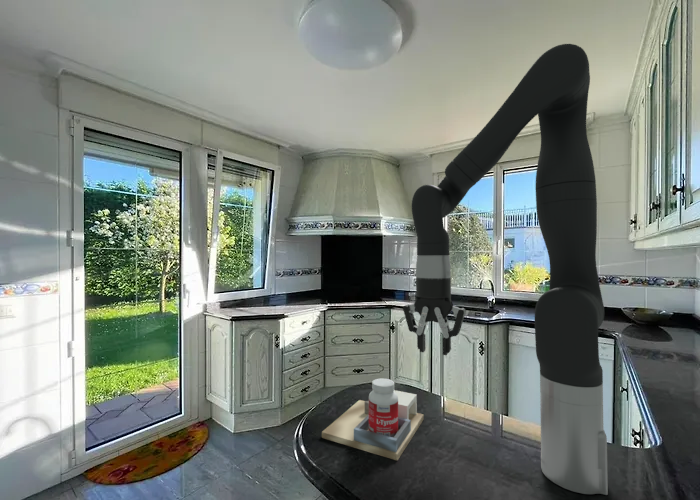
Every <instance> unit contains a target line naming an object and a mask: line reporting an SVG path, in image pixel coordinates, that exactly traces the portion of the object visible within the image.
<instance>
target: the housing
mask: <svg viewBox="0 0 700 500" xmlns="http://www.w3.org/2000/svg"><path fill="white" fill-rule="evenodd" d="M394 392H395V393H396V394H397V396H398V417H400V418H404V419H408V420H409V414H413V415H416V414H417V413H418V407H417V406H418V405H417V403H418V399H417V398H418V396H417V395H418V394H416V393H411V392H406V391H402V390H401V391H400V390H394Z"/></svg>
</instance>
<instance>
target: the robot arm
mask: <svg viewBox="0 0 700 500" xmlns="http://www.w3.org/2000/svg"><path fill="white" fill-rule="evenodd" d="M588 57H589V56H588V55H587V53H586V52H585V50H584V48H582V47H581V46H579V45H577V44H574V43H562V44H558V45H556V46H553V47H551V48H549V49H548V50H546V51H545V52H543V53H542V54H541V55H540V56H539V57H538V58H537V59H536V60H535V61H534V62H533V64H532V65H531V66H530V67H529V69H528V70H527V71H526V73H525V74H524V76H523V77H522V78H521V80H520V82H518V84H517V85H516V87H515V88H514V90H512V92H511V94H510V95H509V96H508V97H507V98H506V100H505V101H504V102H503V104H502V105H501V106H500V107H499V109H498V110H497V111H496V113H495V114H494V115H493V116H492V117H491V118H490V119H489V121H488V122H487V123H486V125H485V126H484V127H483V128H482V129H480V131H479V132H478V133H477V135H475V136H474V137H473V139H472V140H471V141H470V142H469V143H468V144H467V145H466V146H465V147H464V148H463V149H461V151H460V152H458V154H457V155H456V156H455V157H454V158H452V160H451V161H450V162H449V164H448V165H447V166H446V167H445V168H444V169H445V170H444V175H445V176H444V177H443V179H442V180H441V181H440V183H439V184H438V185H437V186H436V185H433V184H424V185H421V186H420V187H418V188H417V189H416V190H415V192H414V193H413V195H412V200H411V214H412V219H413V220H412V221H413V224H414V229H415V233H416V237H417V240H416V264H415V285H416V287H415V288H416V289H415V291H416V292H415V293H416V294H415V297H416V298H415V300H414V303H411V304H405V305H404V306H403V307H402V309H403V314H404V318H405V321H406V325H407V328H408V330H409V332H412V333H414V334H416V340H417V341H416V343H417V345H416V346H417V350H419V353H424V352H426V346H427V345H426V333H425V332H426V327H427V324H428V323H430V322H434V323H438V325H439V328H440V330H441V332H442V336H443V337H442V356H447V355H448V354H449V353H450V352H451V350H452V341H451V340H452V337H457V336H458V335H459V333H460V332H461V328H462V325H463V321H464V319H465V315H466V313H467V310H466V308H464V307H461V308H460V307H458V306H454V304H453V302H452V288H451V287H452V280H451V279H452V270H451V269H452V267H451V260H450V236H449V232H448V231H447V230H446V229H445V226H444V220H443V219H444V218H446V217H447V216H448V215H450V214H451V213H452V212H453V211H454V210H455V209H456V208H457V206H459V204H460V203H461V202H462V200H463V199H464V197H466V196H467V194H468V192H469V191H470V189H472V188H473V187H474V186H475V185H476V184H477V183H479V182H480V180H482V178H484V177H485V175H487V174H488V173H489V172H490V171H491V170H492V169H493V168H494V167H495V166H496V165H497V164H498V162H499V161H500V160H501V159H502V157H504V155H505V154H506V152H507V150H509V147H510V146H511V145H512V144H513V142H514V140H516V138H517V137H518V136H519V134H520V133H522V130H524V128H525V127H527V125H528V124H529V123H530V122H532V120H533V119H534V118H535V117H538V123H539V129H540V130H539V131H540V149H539V156H538V160H537V165H536V166H537V167H536V174H535V203H536V204H535V208H536V215H537V222H538V225H539V229H540V232H541V233H540V234H541V235H542V239H543V241H544V244H545V247H546V250H547V254H548V260H549V286H548V287H549V288H548V290H547V291H545V292H544V293H543V294H541V295H540V297H539V298H538V300H537V301H536V304H535V307H534V308H535V309H534V337H535V338H534V339H535V353H536V358H537V360H538V364H539V385H540V386H539V388H540V389H539V391H540V392H539V394H540V395H539V396H540V397H539V399H540V401H539V403H540V407H539V408H540V467H541V471H542V473H543V475H544V476H545V477H546V478H547V479H548V480H550V481H551V482H552V483H554V484H556V485H557V486H559V487H561V488H563V489H565V490H568V491H571V492H574V493H579V494H583V495H595V494H597V495H598V494H601V495H605V496H607V495H609V492H608V486H609V485H608V483H609V482H608V443H607V442H608V438H607V433H606V432H605V429H604V428H605V427H604V387H603V386H604V384H603V383H604V382H603V381H604V376H603V373H604V371H603V367H602V365H601V363H600V356H599V354H600V353H599V350H600V349H599V328H600V327H601V326H602V324H603V322H604V319H605V305H604V300H603V296H602V291H601V285H600V281H599V275H598V274H599V273H598V270H597V269H598V267H597V260H596V259H597V258H596V254H597V253H596V251H597V234H598V233H597V230H598V229H597V227H598V225H597V224H598V216H597V215H598V211H597V210H598V207H597V206H598V205H597V204H598V203H597V202H598V199H597V196H598V195H597V184H596V183H597V182H596V174H595V173H596V172H595V167H594V161H593V156H592V152H591V147H590V144H589V140H588V139H589V138H588V133H587V132H588V131H587V114H588V101H589V100H588V99H589V89H590V84H591V83H590V82H591V81H590V80H591V75H590V61H589V58H588ZM415 310H416V311H417V313H418V315H420V317H419V320H418V325H417V323H416V322H417V321H416V319H415V316H414V313H415V312H416V311H415ZM451 312H453V317H454V318H455V321H454V323H453V327H452V329H451V328H450V323H449V321H448V316H449V315H450V313H451Z"/></svg>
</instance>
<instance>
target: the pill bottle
mask: <svg viewBox="0 0 700 500" xmlns="http://www.w3.org/2000/svg"><path fill="white" fill-rule="evenodd" d="M371 388H372V391H370V392H369V394H368V401H369V431H371V432H374V433H378V434H382V435H386V436H389V437H393V438H394V436H395V435H396V434H397V432H398V396H397V394H396V393H395V392H394V390H395V382H394V380H392V379H389V378H381V377H380V378H376V379H373V380H372V381H371Z"/></svg>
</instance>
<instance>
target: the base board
mask: <svg viewBox="0 0 700 500" xmlns="http://www.w3.org/2000/svg"><path fill="white" fill-rule="evenodd" d="M424 416H425V415H424V414H422V413H419V412H417V414H416V415H413V414H409V420H408V419H404V418H400V417H398V432H397V434H396V435H395V436H394V438H393V437H389V436H386V435H382V434H378V433H374V432H371V431H369V400H361V399H359V400H358V401H356V402H355V403H354V404H353V405H352V406H350V407H349V408H348V409H347V410H346V411H345V412H343V414H340V416H339V417H337V418H336V419H335V420H334V421H333V422H331V423H330V424H329V425H328V426H327V427H326V428H324V429H323V430H322V431H321V438H322V439H325V440H327V441H331V442H335V443H338V444H341V445H345V446H347V447H351V448H354V449H358V450H361V451H365V452H368V453H371V454H373V455H378V456H381V457H384V458H388V459H391V460H394V461H399V459H400V457H401V456H402V455H403V452H404V451H405V449H406V448H407V446H408V445H409V443H410V442H411V440H412V439H413V437H414V436H415V434H416V432H417V431H418V429H419V428H420V426H421V425H422V423H423V421H424Z"/></svg>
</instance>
